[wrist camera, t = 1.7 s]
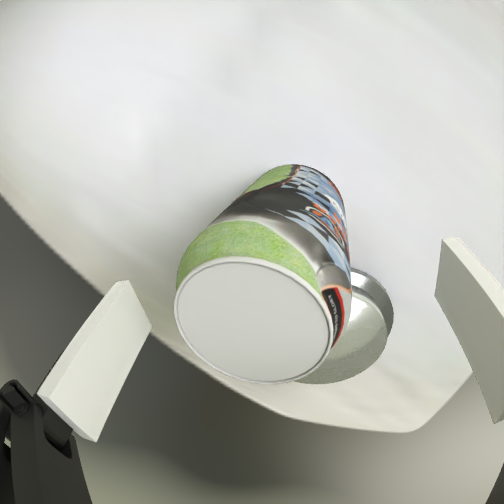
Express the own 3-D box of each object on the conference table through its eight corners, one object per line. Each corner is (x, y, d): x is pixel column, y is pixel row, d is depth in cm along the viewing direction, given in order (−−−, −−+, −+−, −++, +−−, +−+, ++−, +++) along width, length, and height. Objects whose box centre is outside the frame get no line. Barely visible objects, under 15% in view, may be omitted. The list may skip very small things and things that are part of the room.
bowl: (234, 276, 22) (228, 297, 20) (396, 254, 19) (407, 273, 17) (265, 373, 27) (262, 394, 25) (385, 359, 25) (390, 379, 23)
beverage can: (327, 255, 20) (352, 411, 10) (222, 235, 20) (163, 382, 10) (351, 168, 17) (437, 284, 6) (233, 145, 17) (148, 232, 7)
